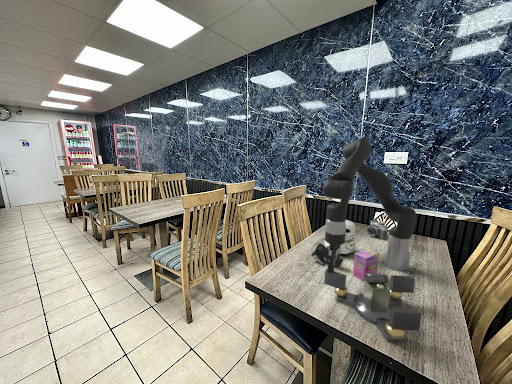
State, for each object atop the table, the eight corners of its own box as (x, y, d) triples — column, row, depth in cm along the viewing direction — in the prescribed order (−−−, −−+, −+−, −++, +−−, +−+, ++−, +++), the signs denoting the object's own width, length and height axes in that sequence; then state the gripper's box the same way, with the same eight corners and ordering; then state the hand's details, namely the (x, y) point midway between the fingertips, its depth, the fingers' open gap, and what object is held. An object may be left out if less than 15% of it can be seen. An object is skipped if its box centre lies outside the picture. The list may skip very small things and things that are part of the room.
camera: (361, 231, 155) (362, 219, 153) (374, 231, 155) (375, 218, 154) (374, 239, 139) (375, 226, 138) (388, 239, 140) (389, 225, 138)
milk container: (356, 259, 113) (359, 229, 109) (324, 254, 118) (326, 225, 115) (352, 246, 129) (354, 219, 126) (324, 242, 134) (326, 217, 131)
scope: (331, 274, 102) (341, 259, 99) (309, 255, 110) (318, 241, 107) (337, 270, 108) (346, 256, 105) (316, 252, 116) (324, 239, 113)
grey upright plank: (348, 291, 82) (349, 273, 80) (346, 298, 78) (347, 279, 76) (326, 284, 87) (327, 267, 85) (323, 290, 83) (324, 272, 81)
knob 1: (391, 299, 78) (393, 280, 76) (384, 291, 82) (386, 273, 81) (415, 300, 77) (418, 281, 75) (406, 292, 82) (409, 274, 80)
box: (363, 281, 92) (365, 258, 90) (352, 275, 97) (354, 253, 95) (377, 275, 97) (379, 253, 95) (366, 269, 102) (368, 248, 100)
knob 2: (390, 339, 61) (394, 315, 59) (382, 326, 65) (384, 304, 64) (421, 341, 60) (425, 317, 59) (410, 327, 65) (414, 305, 63)
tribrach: (394, 296, 83) (398, 265, 80) (437, 344, 61) (445, 304, 59) (332, 293, 84) (335, 262, 82) (354, 339, 63) (357, 300, 61)
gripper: (329, 223, 86) (328, 258, 89) (320, 234, 75) (318, 273, 78) (348, 226, 82) (346, 262, 85) (341, 238, 71) (339, 279, 73)
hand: (333, 267), depth 81 cm, fingers open, 8 cm apart
